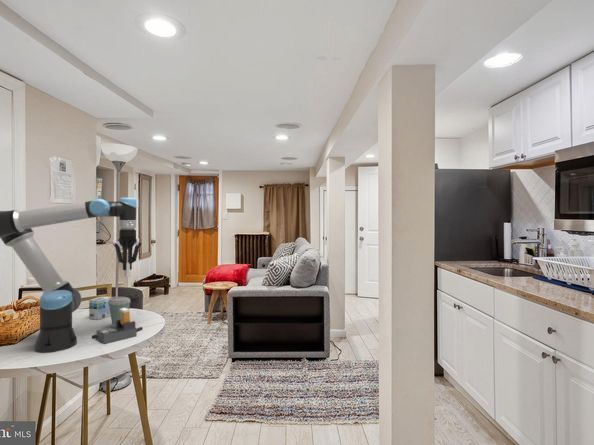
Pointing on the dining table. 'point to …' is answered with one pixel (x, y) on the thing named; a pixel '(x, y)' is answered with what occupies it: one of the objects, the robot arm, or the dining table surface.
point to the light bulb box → (99, 308)
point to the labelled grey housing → (117, 332)
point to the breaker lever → (124, 315)
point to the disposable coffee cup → (117, 307)
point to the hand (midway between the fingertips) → (127, 276)
